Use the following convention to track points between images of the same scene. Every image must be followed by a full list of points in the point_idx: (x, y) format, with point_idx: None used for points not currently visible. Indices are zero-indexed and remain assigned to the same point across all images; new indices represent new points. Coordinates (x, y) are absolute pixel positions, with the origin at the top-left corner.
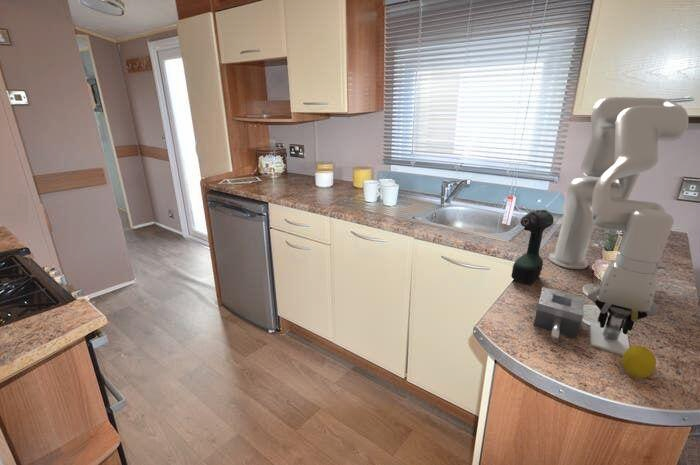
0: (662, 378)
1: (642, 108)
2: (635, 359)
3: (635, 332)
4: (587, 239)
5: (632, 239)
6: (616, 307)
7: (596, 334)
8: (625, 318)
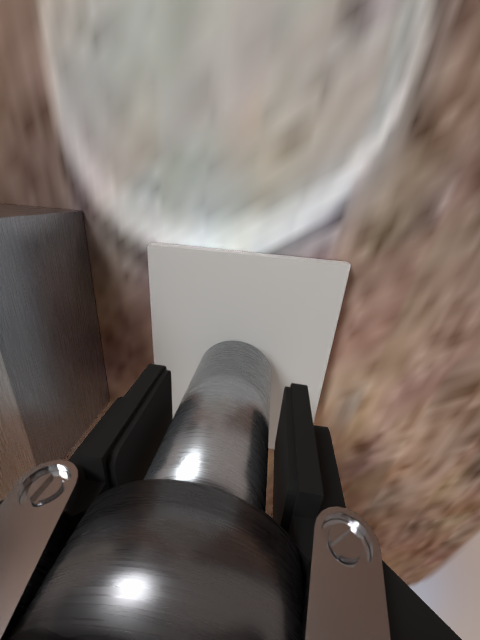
0: (387, 510)
1: None
2: None
3: (426, 189)
4: None
5: None
6: None
7: (179, 355)
8: (286, 454)
